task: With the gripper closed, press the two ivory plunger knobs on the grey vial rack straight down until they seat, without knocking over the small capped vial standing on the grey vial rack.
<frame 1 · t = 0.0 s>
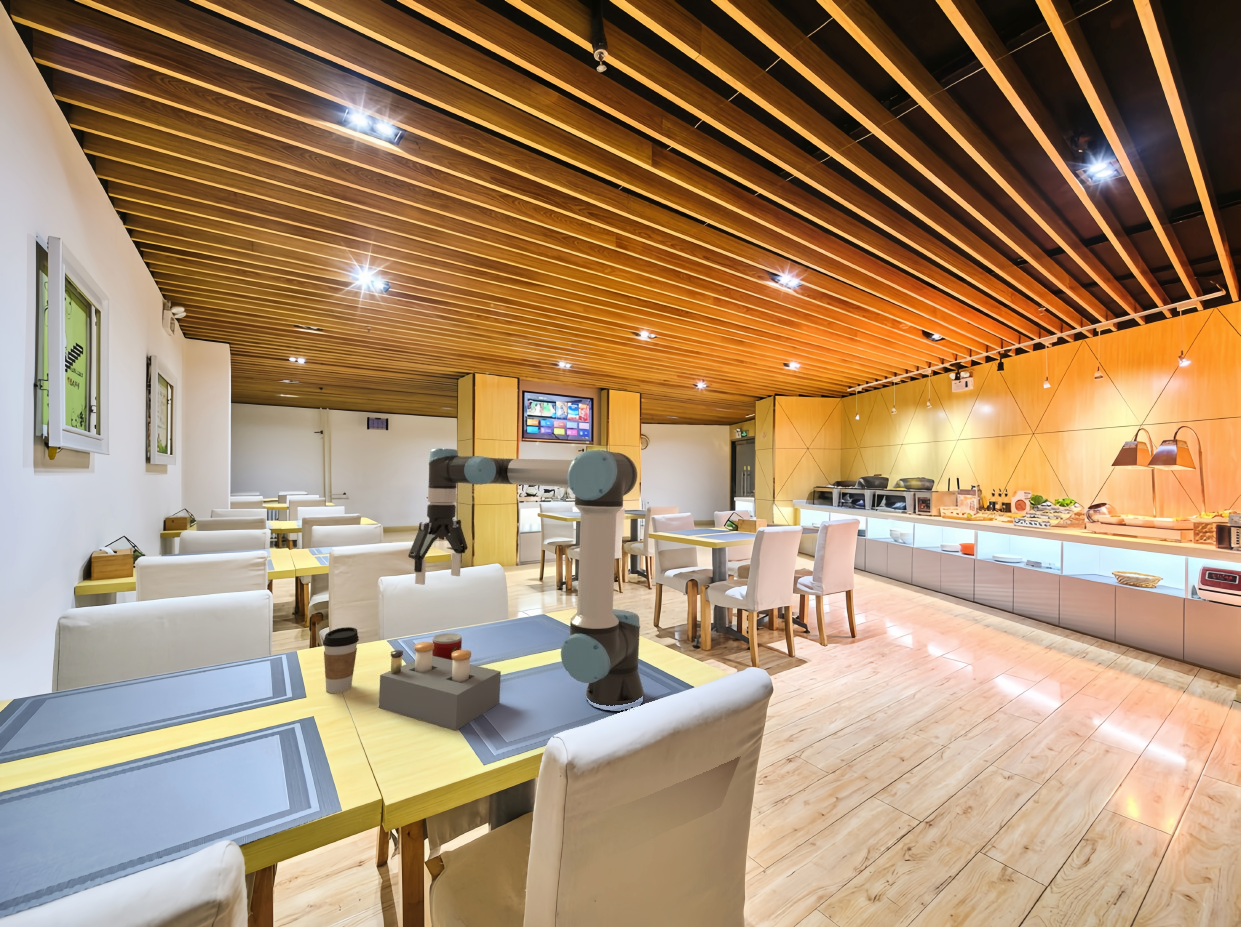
hand: (438, 579, 144), 28 cm above the table, fingers open, 13 cm apart
canned food: (445, 676, 147), on the table
coffee cup: (338, 689, 136), on the table
knob a: (460, 669, 126), point 10 cm above the table, slide at 0.0 cm
knob b: (423, 660, 131), point 10 cm above the table, slide at 0.0 cm
grey vial rack: (440, 705, 128), on the table
small capped vial: (396, 672, 128), point 8 cm above the table, touching grey vial rack
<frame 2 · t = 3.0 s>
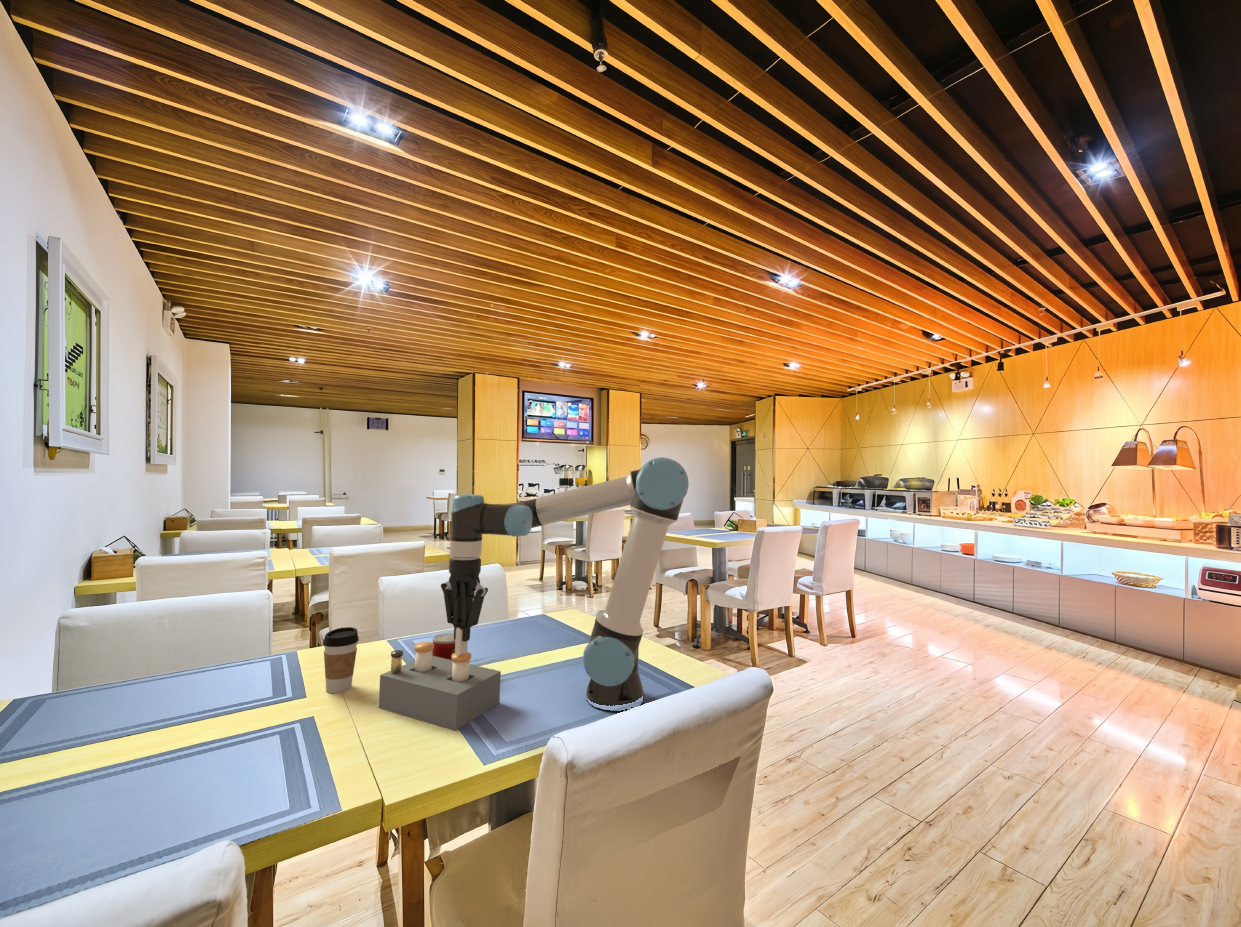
hand: (461, 653, 126), 14 cm above the table, fingers closed
knob a: (460, 671, 126), point 10 cm above the table, slide at 0.4 cm, touching gripper
everything else where it was.
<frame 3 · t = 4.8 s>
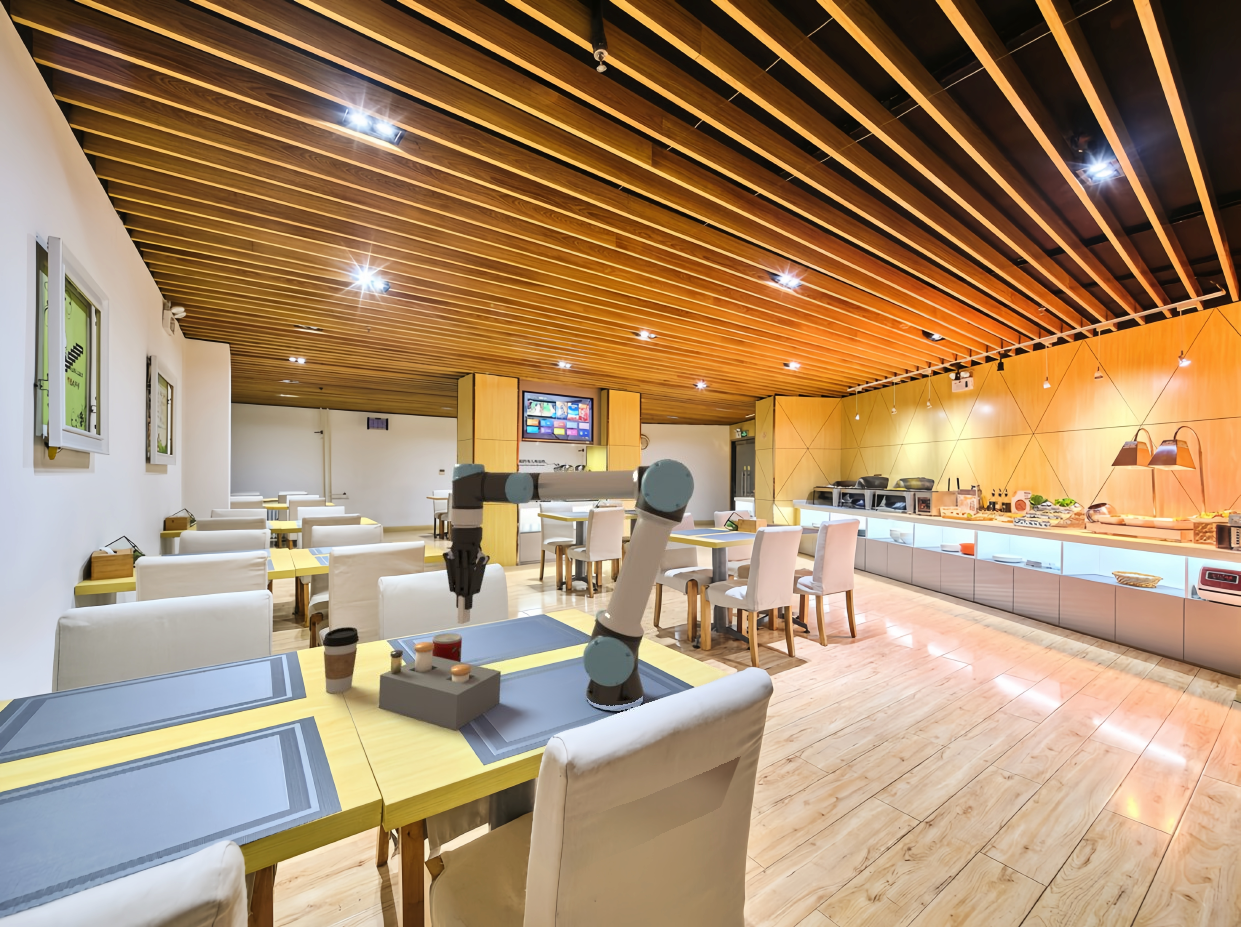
hand: (463, 622, 126), 22 cm above the table, fingers closed
knob a: (460, 684, 126), point 6 cm above the table, slide at 3.6 cm
everything else where it was.
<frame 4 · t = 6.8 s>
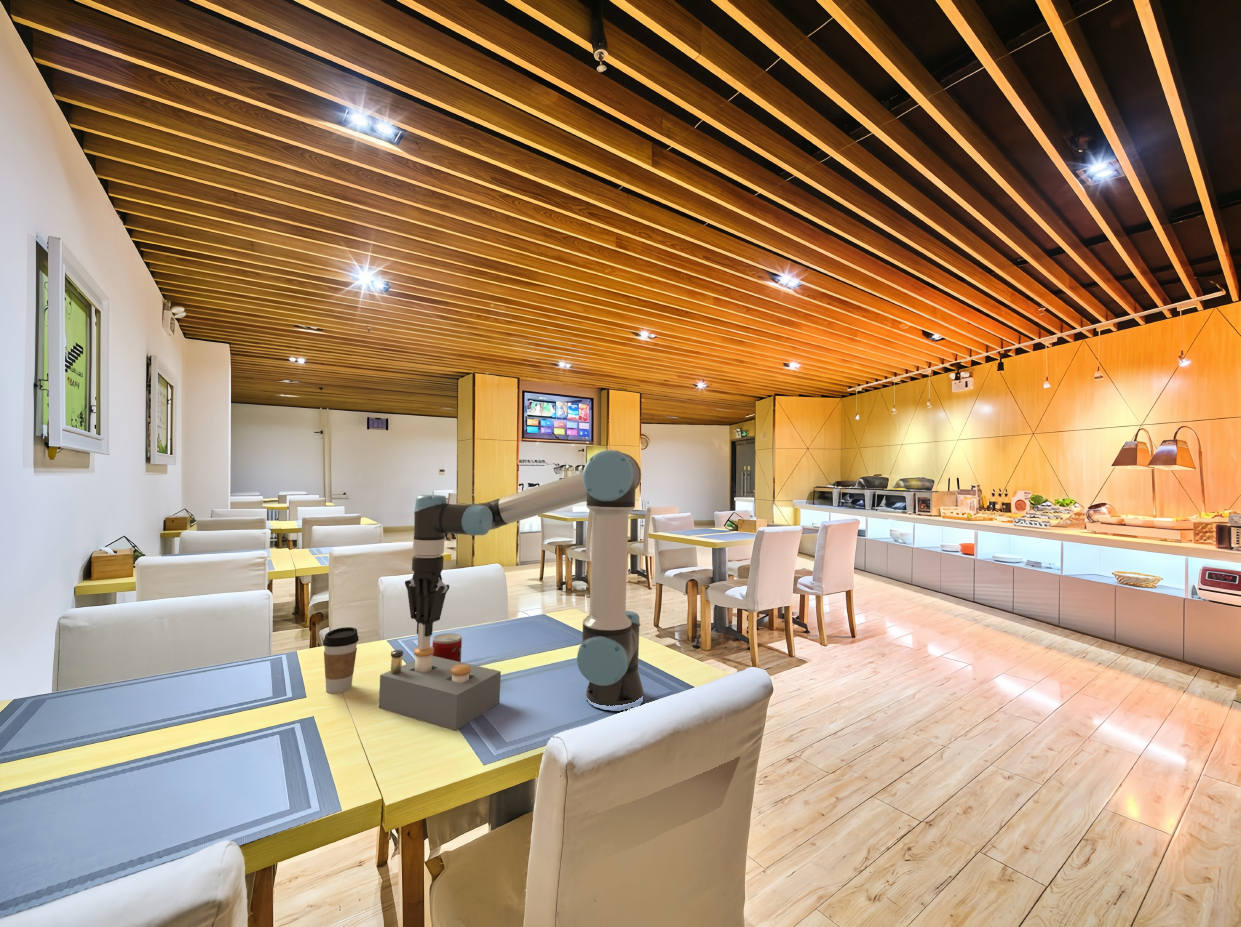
hand: (423, 648, 131), 13 cm above the table, fingers closed
knob b: (423, 665, 131), point 9 cm above the table, slide at 1.1 cm, touching gripper
everything else where it was.
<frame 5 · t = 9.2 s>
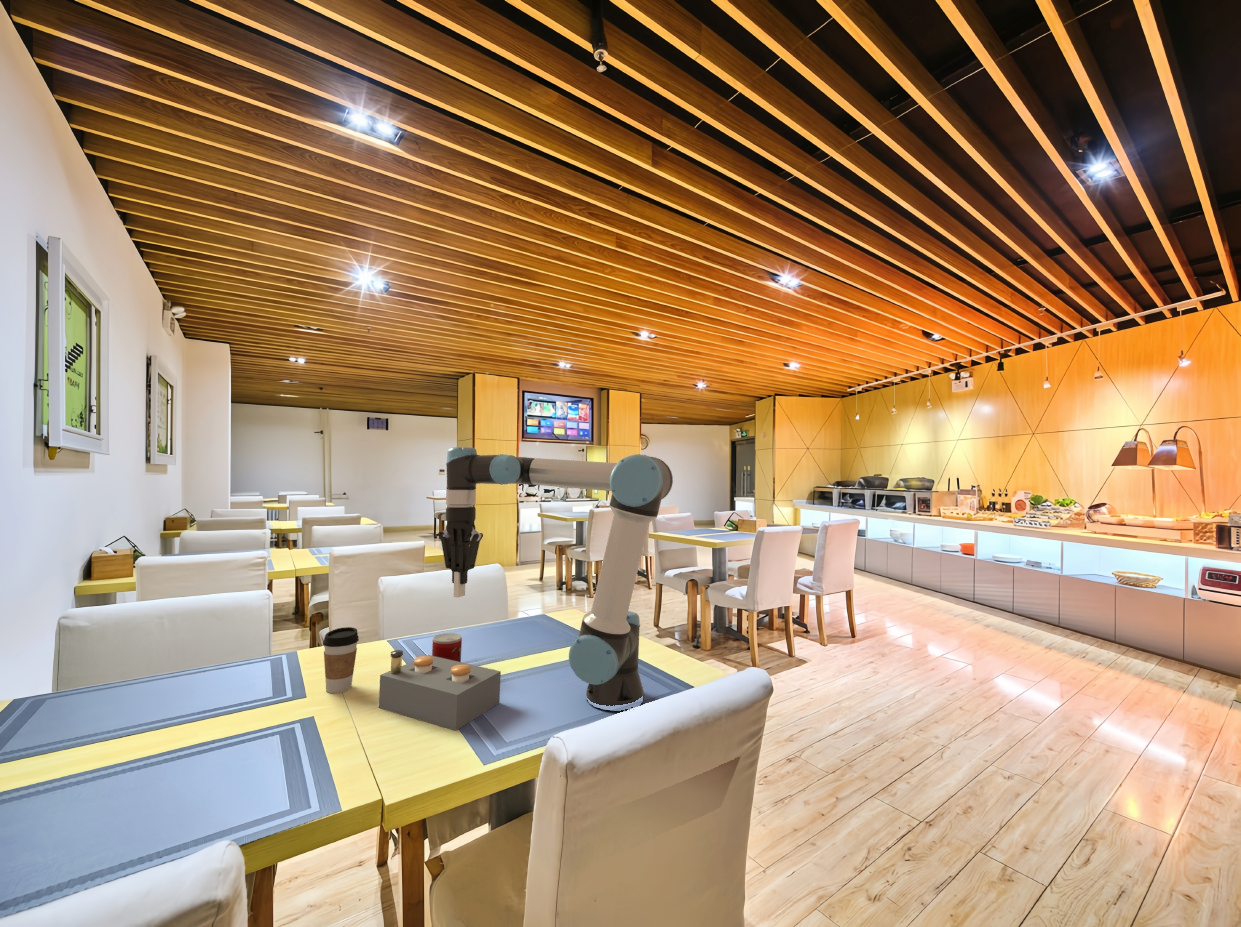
hand: (459, 596, 135), 26 cm above the table, fingers closed
knob b: (423, 675, 131), point 6 cm above the table, slide at 3.6 cm
everything else where it was.
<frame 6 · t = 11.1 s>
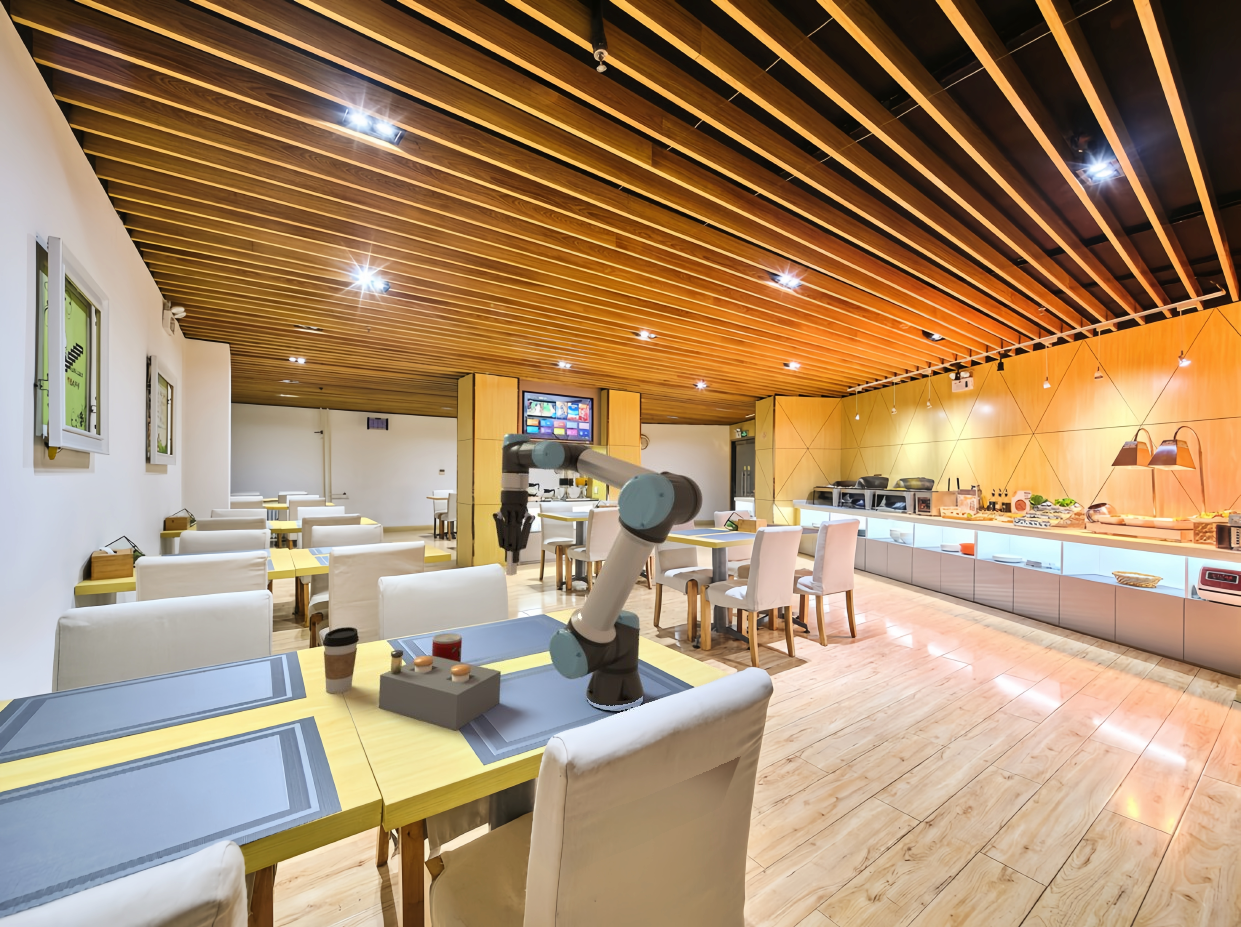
hand: (511, 574, 143), 30 cm above the table, fingers closed
nothing on the table moved.
at the end: knob a slide at 3.6 cm; knob b slide at 3.6 cm; small capped vial tilted 1° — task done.
